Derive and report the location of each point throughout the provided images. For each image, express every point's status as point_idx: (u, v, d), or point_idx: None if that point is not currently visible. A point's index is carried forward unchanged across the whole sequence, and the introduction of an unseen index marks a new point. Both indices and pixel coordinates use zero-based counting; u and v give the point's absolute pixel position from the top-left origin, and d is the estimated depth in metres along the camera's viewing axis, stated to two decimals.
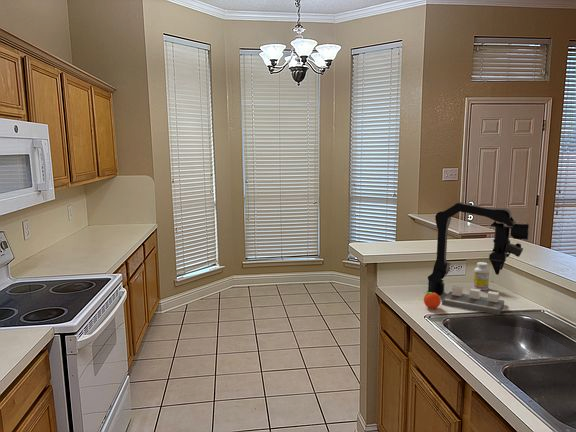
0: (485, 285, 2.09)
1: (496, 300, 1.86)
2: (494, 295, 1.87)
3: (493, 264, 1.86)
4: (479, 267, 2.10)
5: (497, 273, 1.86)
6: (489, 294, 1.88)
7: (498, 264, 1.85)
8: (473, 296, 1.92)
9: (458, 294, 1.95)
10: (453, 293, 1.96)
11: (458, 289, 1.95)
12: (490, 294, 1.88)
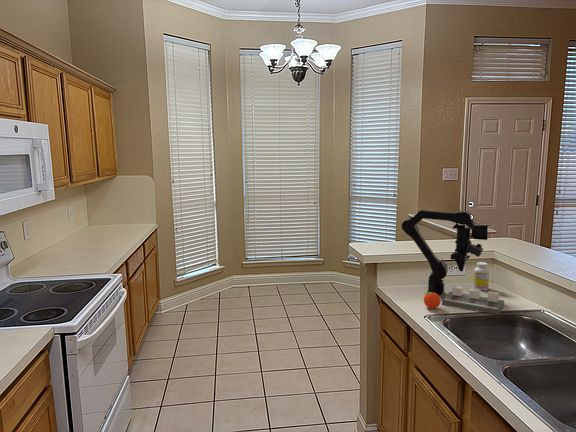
0: (485, 285, 2.09)
1: (496, 300, 1.86)
2: (494, 295, 1.87)
3: (457, 262, 2.00)
4: (479, 267, 2.10)
5: (461, 270, 2.00)
6: (489, 294, 1.88)
7: (461, 261, 1.99)
8: (473, 296, 1.92)
9: (458, 294, 1.95)
10: (453, 293, 1.96)
11: (458, 289, 1.95)
12: (490, 294, 1.88)
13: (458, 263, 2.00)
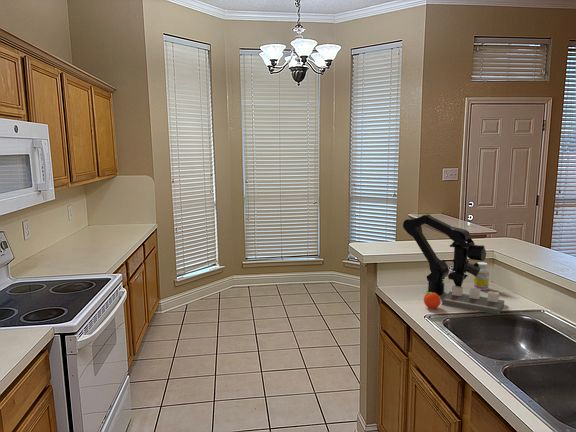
0: (485, 285, 2.09)
1: (496, 300, 1.86)
2: (494, 295, 1.87)
3: (454, 281, 1.98)
4: None
5: None
6: (489, 294, 1.88)
7: (459, 281, 1.97)
8: (473, 296, 1.92)
9: (458, 294, 1.95)
10: (453, 293, 1.96)
11: (458, 289, 1.95)
12: (490, 294, 1.88)
13: (455, 282, 1.98)
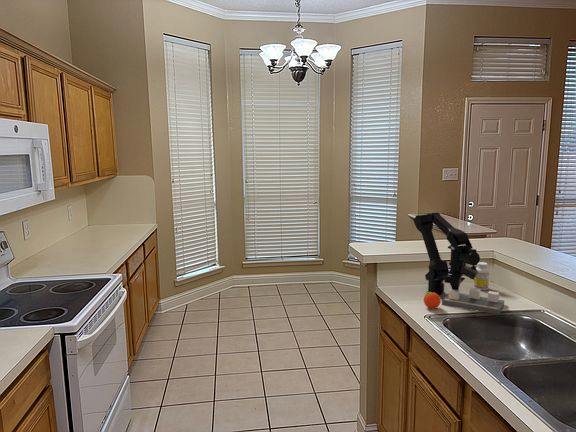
0: (485, 285, 2.09)
1: (496, 300, 1.86)
2: (494, 295, 1.87)
3: (451, 284, 1.93)
4: (479, 267, 2.10)
5: None
6: (489, 294, 1.88)
7: (456, 284, 1.92)
8: (473, 296, 1.92)
9: (455, 298, 1.90)
10: (450, 297, 1.92)
11: (455, 293, 1.90)
12: (490, 294, 1.88)
13: (452, 285, 1.93)
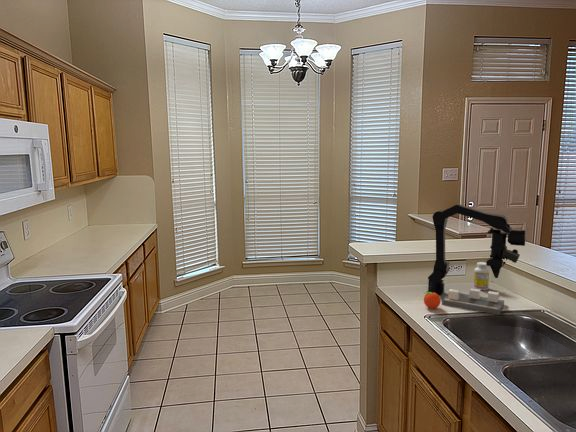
0: (485, 285, 2.09)
1: (496, 300, 1.86)
2: (494, 295, 1.87)
3: (492, 268, 1.92)
4: (479, 267, 2.10)
5: (496, 277, 1.92)
6: (489, 294, 1.88)
7: (497, 268, 1.91)
8: (473, 296, 1.92)
9: (455, 298, 1.90)
10: (450, 297, 1.92)
11: (455, 293, 1.90)
12: (490, 294, 1.88)
13: (493, 269, 1.92)
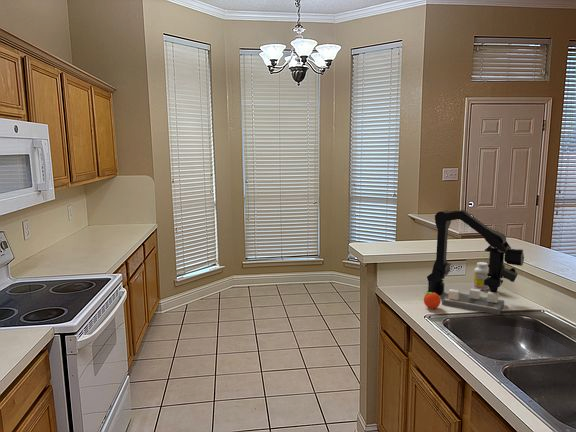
0: (485, 285, 2.09)
1: (496, 300, 1.86)
2: (494, 295, 1.86)
3: (490, 287, 1.89)
4: (479, 267, 2.10)
5: None
6: (489, 294, 1.87)
7: (495, 287, 1.88)
8: (473, 296, 1.92)
9: (455, 298, 1.90)
10: (450, 297, 1.92)
11: (455, 293, 1.90)
12: (490, 294, 1.87)
13: (491, 288, 1.89)
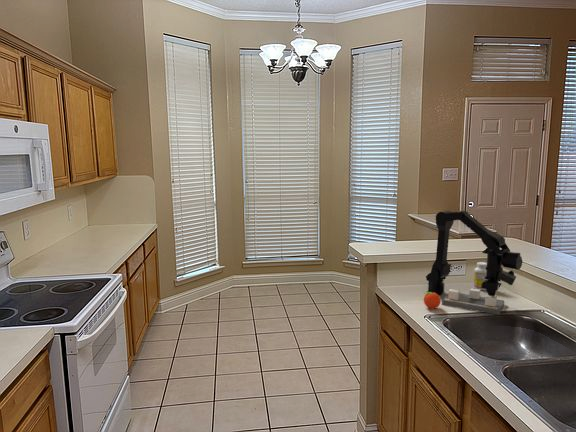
0: None
1: (494, 304, 1.82)
2: (492, 299, 1.82)
3: (487, 290, 1.85)
4: (479, 267, 2.10)
5: None
6: (486, 298, 1.83)
7: (492, 290, 1.84)
8: (473, 296, 1.92)
9: (455, 298, 1.90)
10: (450, 297, 1.92)
11: (455, 293, 1.90)
12: (487, 298, 1.83)
13: (488, 291, 1.85)
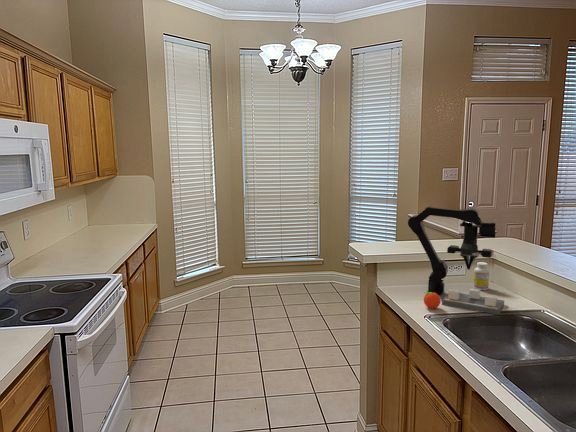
0: (485, 285, 2.09)
1: (494, 304, 1.82)
2: (492, 299, 1.82)
3: None
4: (479, 267, 2.10)
5: None
6: (486, 298, 1.83)
7: None
8: (473, 296, 1.92)
9: (455, 298, 1.90)
10: (450, 297, 1.92)
11: (455, 293, 1.90)
12: (487, 298, 1.83)
13: None
